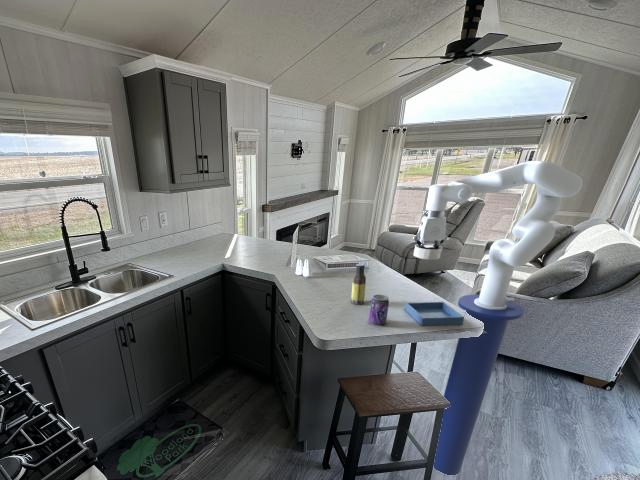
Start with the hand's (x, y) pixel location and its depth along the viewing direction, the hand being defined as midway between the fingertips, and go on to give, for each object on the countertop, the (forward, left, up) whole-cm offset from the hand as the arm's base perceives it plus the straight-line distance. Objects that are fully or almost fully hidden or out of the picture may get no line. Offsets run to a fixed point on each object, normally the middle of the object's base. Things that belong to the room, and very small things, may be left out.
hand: (427, 253), depth 150 cm
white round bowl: (0, 0, -1) cm, 1 cm away
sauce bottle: (+28, -4, -25) cm, 38 cm away
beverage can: (+26, +18, -25) cm, 41 cm away
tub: (0, +14, -25) cm, 29 cm away
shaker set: (+48, -46, -25) cm, 71 cm away
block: (0, 0, 0) cm, 0 cm away
